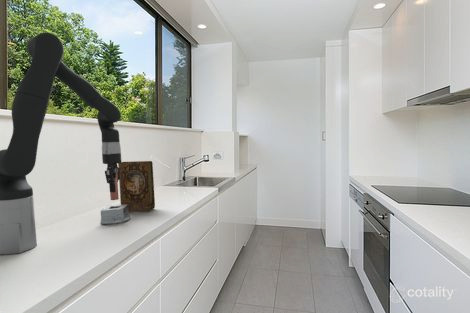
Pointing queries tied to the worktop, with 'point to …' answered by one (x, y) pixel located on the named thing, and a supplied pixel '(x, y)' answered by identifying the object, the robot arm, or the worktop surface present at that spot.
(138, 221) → the worktop surface
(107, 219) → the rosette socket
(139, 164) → the book
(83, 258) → the worktop surface
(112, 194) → the pin
